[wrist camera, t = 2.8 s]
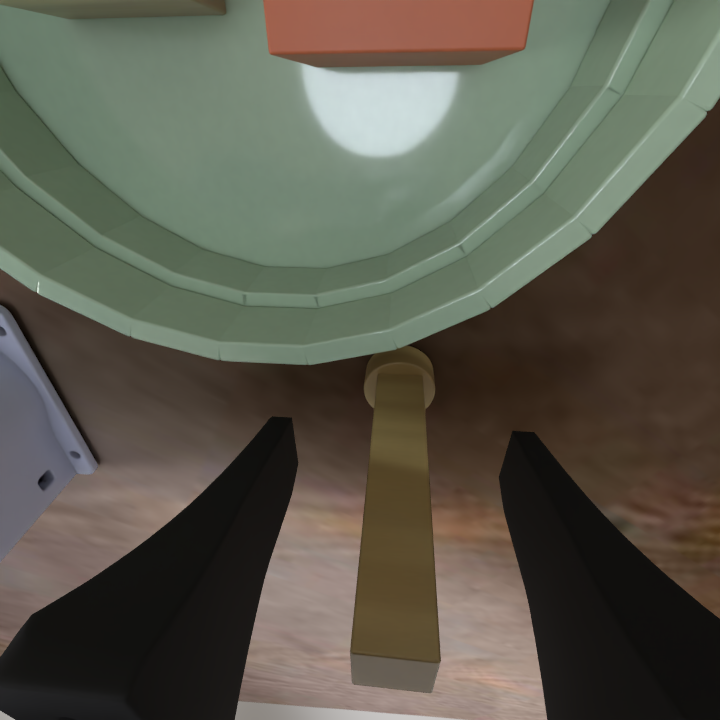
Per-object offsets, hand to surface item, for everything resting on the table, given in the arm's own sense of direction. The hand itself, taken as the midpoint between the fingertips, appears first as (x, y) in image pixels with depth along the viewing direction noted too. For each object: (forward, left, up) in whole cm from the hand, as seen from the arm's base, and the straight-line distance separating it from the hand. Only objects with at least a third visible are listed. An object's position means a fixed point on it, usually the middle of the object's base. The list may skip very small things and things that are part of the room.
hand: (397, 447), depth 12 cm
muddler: (0, 0, -4) cm, 4 cm away
